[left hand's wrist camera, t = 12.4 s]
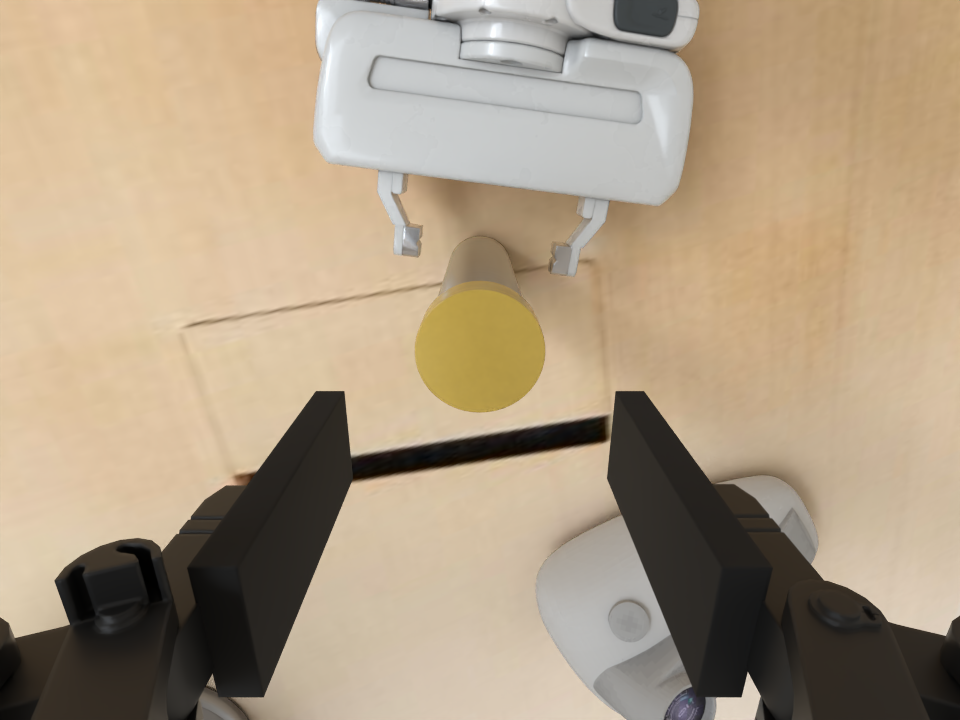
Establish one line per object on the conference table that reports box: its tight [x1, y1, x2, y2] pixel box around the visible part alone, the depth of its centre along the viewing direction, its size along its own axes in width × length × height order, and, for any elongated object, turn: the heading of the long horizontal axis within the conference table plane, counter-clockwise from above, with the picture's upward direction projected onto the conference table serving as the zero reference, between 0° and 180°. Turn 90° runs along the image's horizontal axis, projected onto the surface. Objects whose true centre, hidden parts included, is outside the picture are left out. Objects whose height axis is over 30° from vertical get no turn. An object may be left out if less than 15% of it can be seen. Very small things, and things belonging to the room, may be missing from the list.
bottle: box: [438, 236, 522, 296], centre depth 30 cm, size 4×4×19 cm
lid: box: [415, 281, 545, 412], centre depth 21 cm, size 5×5×2 cm
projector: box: [536, 475, 818, 720], centre depth 41 cm, size 22×23×15 cm
